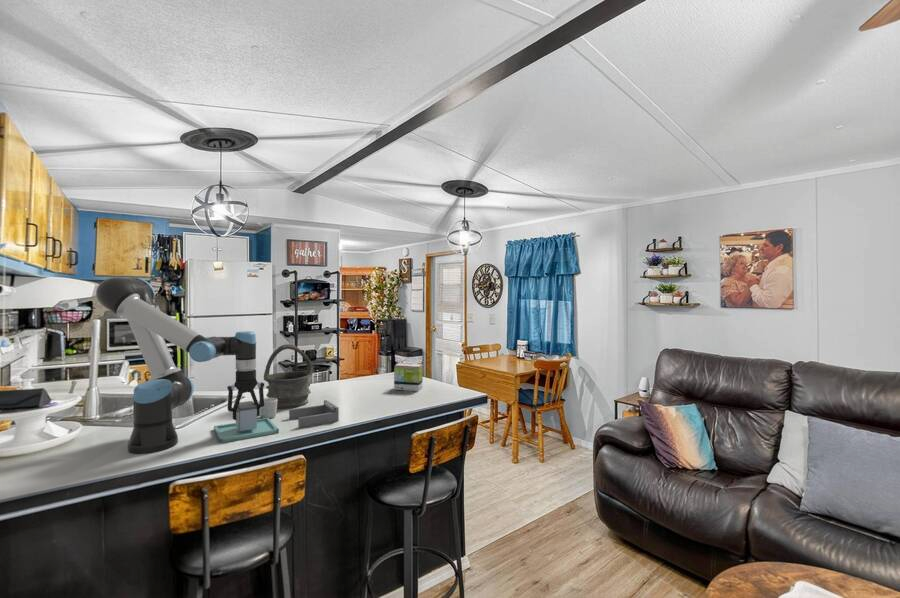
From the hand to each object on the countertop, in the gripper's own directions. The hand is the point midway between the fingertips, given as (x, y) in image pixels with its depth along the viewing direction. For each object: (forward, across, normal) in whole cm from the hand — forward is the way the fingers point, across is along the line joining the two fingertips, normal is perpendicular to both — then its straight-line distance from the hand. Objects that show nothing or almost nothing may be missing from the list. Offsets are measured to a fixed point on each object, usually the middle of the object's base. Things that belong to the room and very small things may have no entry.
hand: (246, 425), depth 173 cm
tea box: (+3, +92, +29) cm, 97 cm away
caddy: (0, 0, 0) cm, 0 cm away
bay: (+2, +27, 0) cm, 27 cm away
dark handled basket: (+2, +26, +35) cm, 43 cm away
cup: (+2, +11, +14) cm, 18 cm away
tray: (+2, 0, 0) cm, 2 cm away
